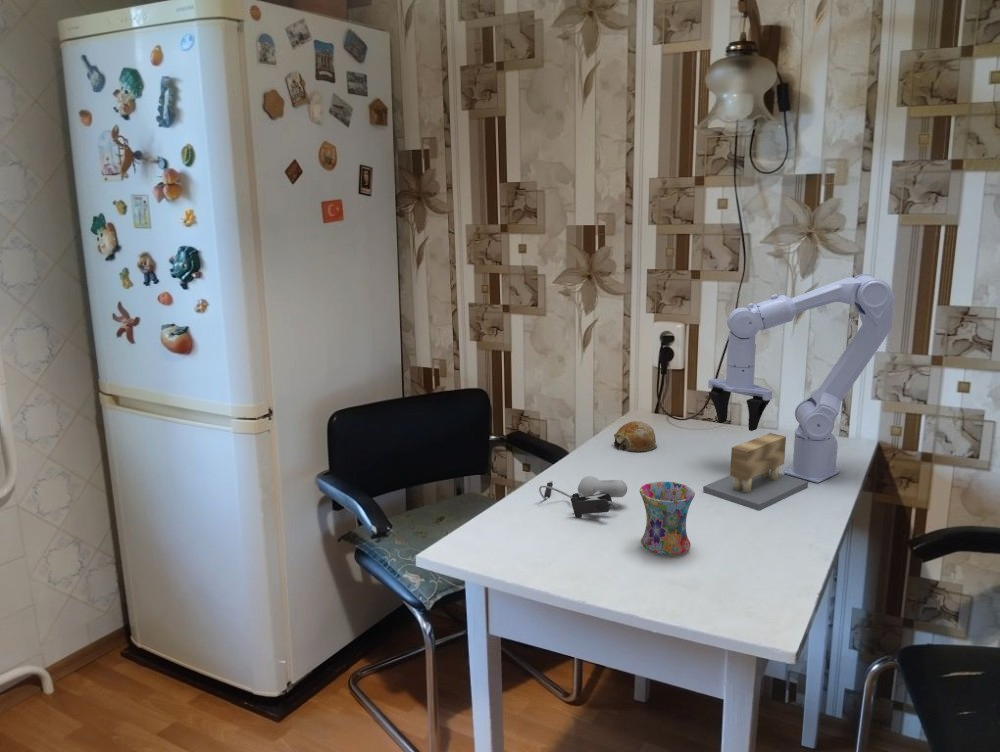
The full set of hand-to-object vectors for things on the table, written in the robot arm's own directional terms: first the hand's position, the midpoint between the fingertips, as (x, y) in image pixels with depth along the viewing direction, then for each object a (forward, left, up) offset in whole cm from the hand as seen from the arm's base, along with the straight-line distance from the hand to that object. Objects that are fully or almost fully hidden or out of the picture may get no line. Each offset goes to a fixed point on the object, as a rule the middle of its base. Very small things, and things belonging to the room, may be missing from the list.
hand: (737, 425), depth 172 cm
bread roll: (+3, -26, -11) cm, 28 cm away
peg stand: (+6, +9, -10) cm, 15 cm away
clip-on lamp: (+39, -10, -11) cm, 41 cm away
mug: (+40, +13, -11) cm, 43 cm away
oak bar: (+6, +9, -6) cm, 12 cm away
